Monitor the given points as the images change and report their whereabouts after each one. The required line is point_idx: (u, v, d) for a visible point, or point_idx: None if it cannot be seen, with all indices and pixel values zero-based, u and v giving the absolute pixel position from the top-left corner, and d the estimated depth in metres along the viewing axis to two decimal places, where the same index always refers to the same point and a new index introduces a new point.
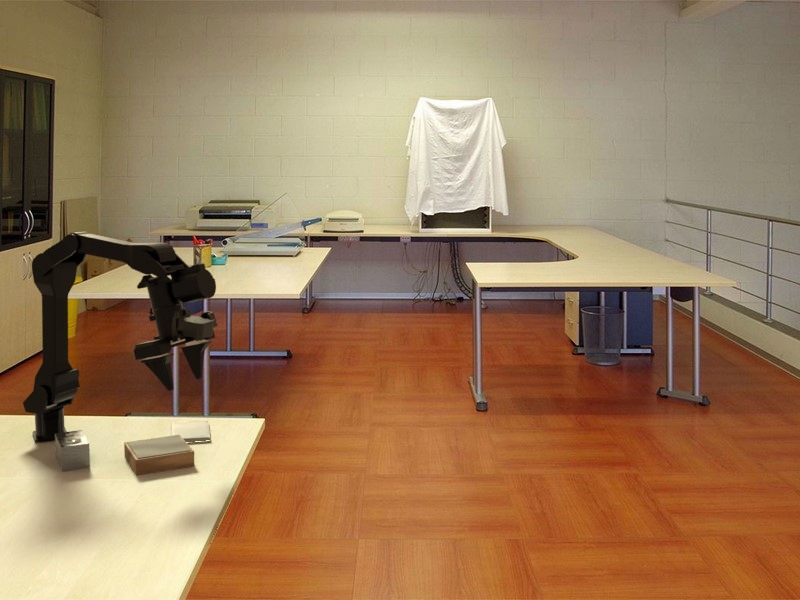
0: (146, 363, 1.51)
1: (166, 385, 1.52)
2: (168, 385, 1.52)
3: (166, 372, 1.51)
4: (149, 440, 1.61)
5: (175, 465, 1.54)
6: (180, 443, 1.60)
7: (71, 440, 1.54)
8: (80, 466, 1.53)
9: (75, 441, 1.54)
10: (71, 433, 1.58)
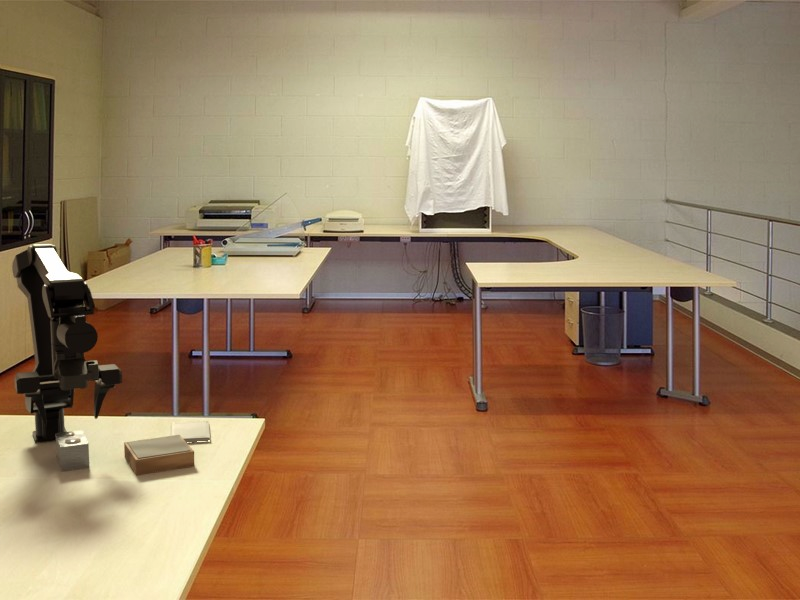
0: None
1: None
2: (42, 419, 1.53)
3: (37, 408, 1.51)
4: (149, 440, 1.61)
5: (175, 465, 1.54)
6: (180, 443, 1.60)
7: (71, 440, 1.54)
8: (79, 466, 1.53)
9: (75, 441, 1.54)
10: (71, 433, 1.58)
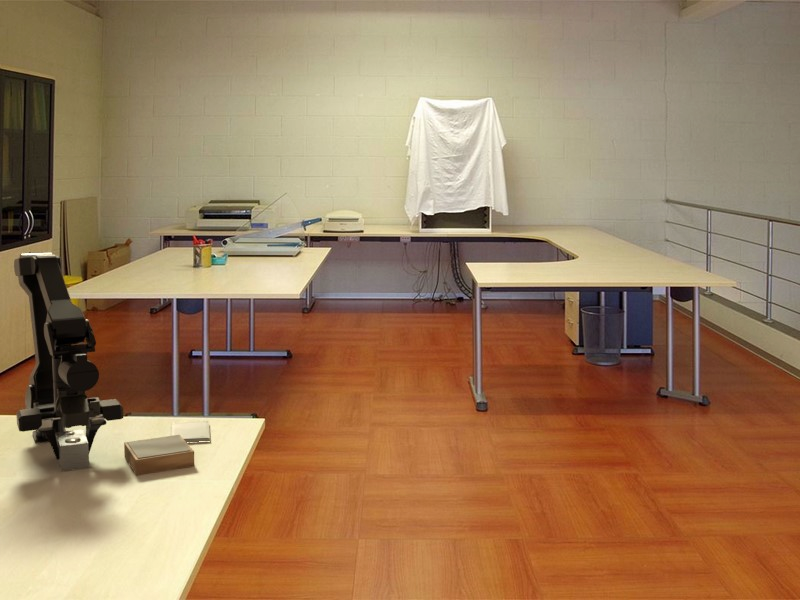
0: None
1: None
2: None
3: (50, 443, 1.53)
4: (149, 440, 1.61)
5: (175, 465, 1.54)
6: (180, 443, 1.60)
7: (71, 439, 1.54)
8: (79, 465, 1.53)
9: (74, 440, 1.54)
10: (71, 432, 1.58)
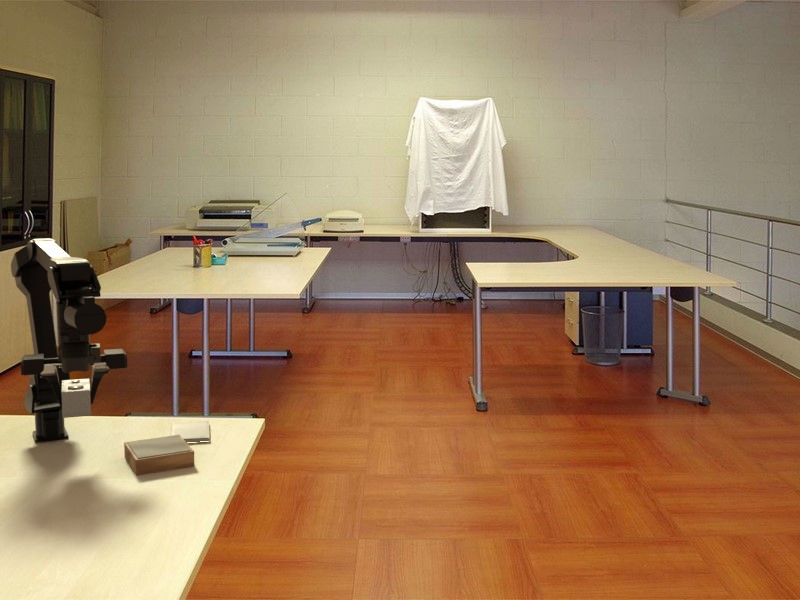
0: None
1: None
2: None
3: (53, 389, 1.52)
4: (149, 440, 1.61)
5: (175, 465, 1.54)
6: (180, 443, 1.60)
7: (74, 386, 1.53)
8: (81, 413, 1.51)
9: (77, 387, 1.52)
10: (77, 380, 1.57)
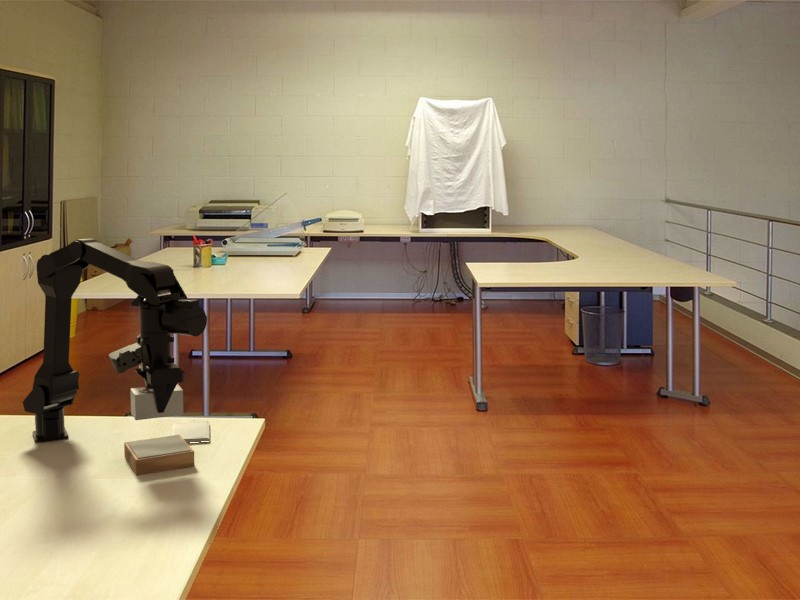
0: None
1: None
2: None
3: None
4: (149, 440, 1.61)
5: (175, 465, 1.54)
6: (180, 443, 1.60)
7: (146, 388, 1.55)
8: (133, 414, 1.54)
9: (142, 390, 1.54)
10: None
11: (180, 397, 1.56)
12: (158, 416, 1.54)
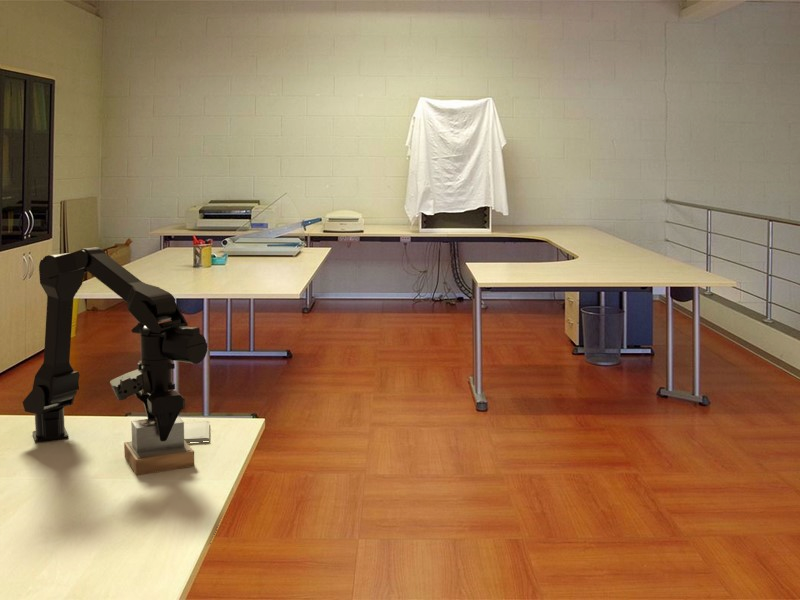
0: None
1: None
2: None
3: None
4: None
5: (175, 465, 1.54)
6: None
7: (147, 421, 1.56)
8: (135, 447, 1.55)
9: (143, 422, 1.55)
10: None
11: (181, 430, 1.57)
12: (159, 449, 1.55)
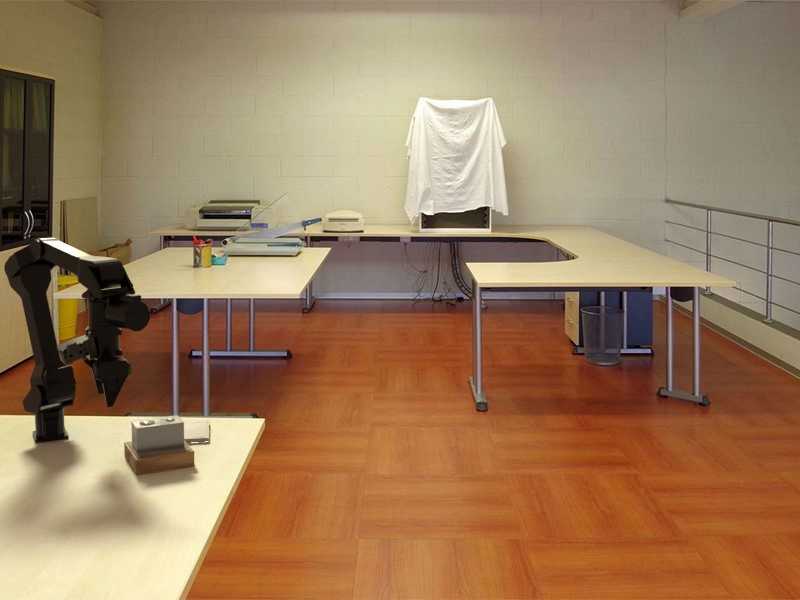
0: None
1: None
2: None
3: None
4: None
5: (175, 465, 1.54)
6: None
7: (147, 421, 1.56)
8: (135, 447, 1.55)
9: (143, 422, 1.55)
10: (170, 419, 1.58)
11: (181, 430, 1.57)
12: (159, 449, 1.55)
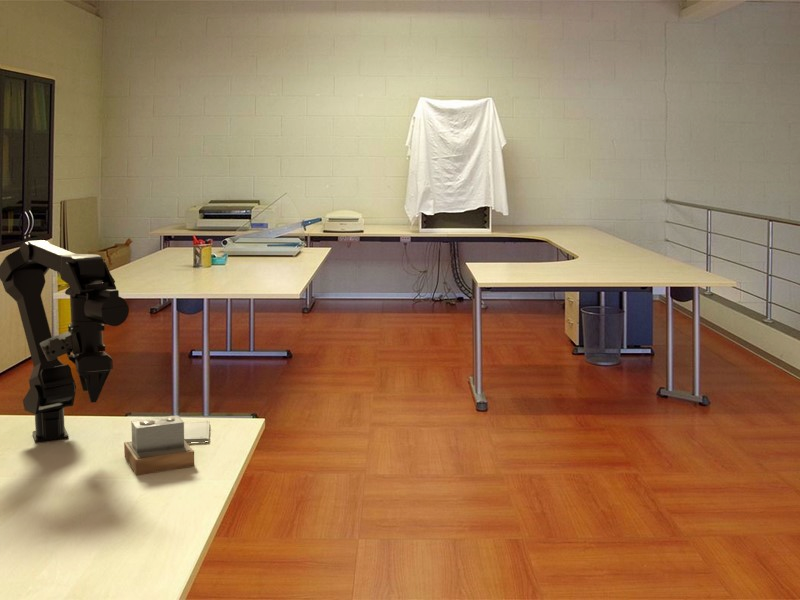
0: None
1: None
2: None
3: None
4: None
5: (175, 465, 1.54)
6: None
7: (147, 421, 1.56)
8: (135, 447, 1.55)
9: (143, 422, 1.55)
10: (170, 419, 1.58)
11: (181, 430, 1.57)
12: (159, 449, 1.55)
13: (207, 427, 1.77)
